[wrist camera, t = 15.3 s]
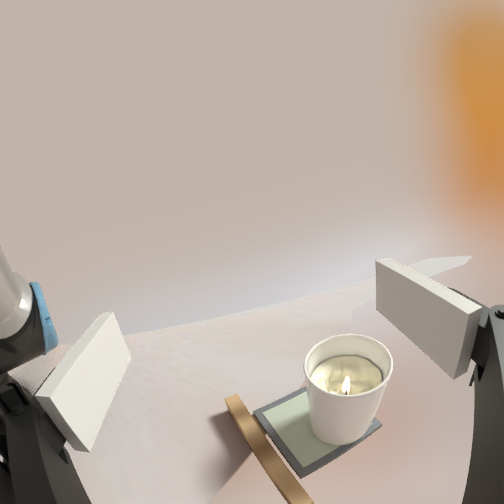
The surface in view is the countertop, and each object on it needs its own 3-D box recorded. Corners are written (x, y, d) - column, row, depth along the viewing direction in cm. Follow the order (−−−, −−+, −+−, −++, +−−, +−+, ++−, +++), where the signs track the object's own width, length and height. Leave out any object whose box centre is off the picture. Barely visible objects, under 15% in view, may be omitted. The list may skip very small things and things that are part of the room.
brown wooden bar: (228, 410, 37) (224, 398, 36) (240, 405, 38) (237, 393, 37) (297, 515, 20) (297, 510, 19) (312, 507, 20) (313, 501, 19)
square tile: (253, 413, 36) (252, 410, 36) (326, 377, 40) (327, 374, 40) (300, 478, 25) (300, 476, 24) (381, 426, 29) (382, 423, 29)
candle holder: (377, 396, 34) (391, 334, 29) (372, 452, 25) (393, 398, 21) (313, 392, 37) (312, 331, 33) (296, 446, 29) (293, 391, 24)
